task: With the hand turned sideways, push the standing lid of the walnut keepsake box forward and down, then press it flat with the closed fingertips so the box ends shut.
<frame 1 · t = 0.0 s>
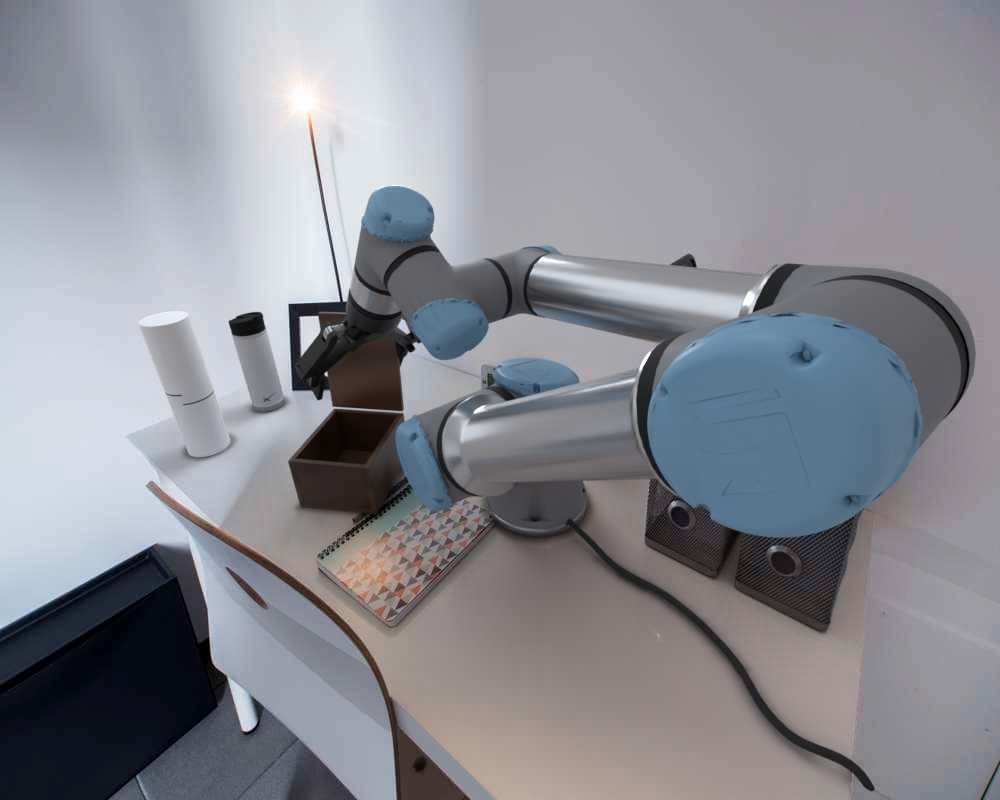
hand: (355, 379, 86), 15 cm above the table, tool tilted 35°, fingers open, 13 cm apart
lid: (362, 362, 87), point 17 cm above the table, hinge at 94.9°, touching gripper
keepsake box: (358, 479, 88), on the table
travel mug: (270, 405, 111), on the table
cylindrical container: (209, 446, 98), on the table
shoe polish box: (578, 452, 93), on the table
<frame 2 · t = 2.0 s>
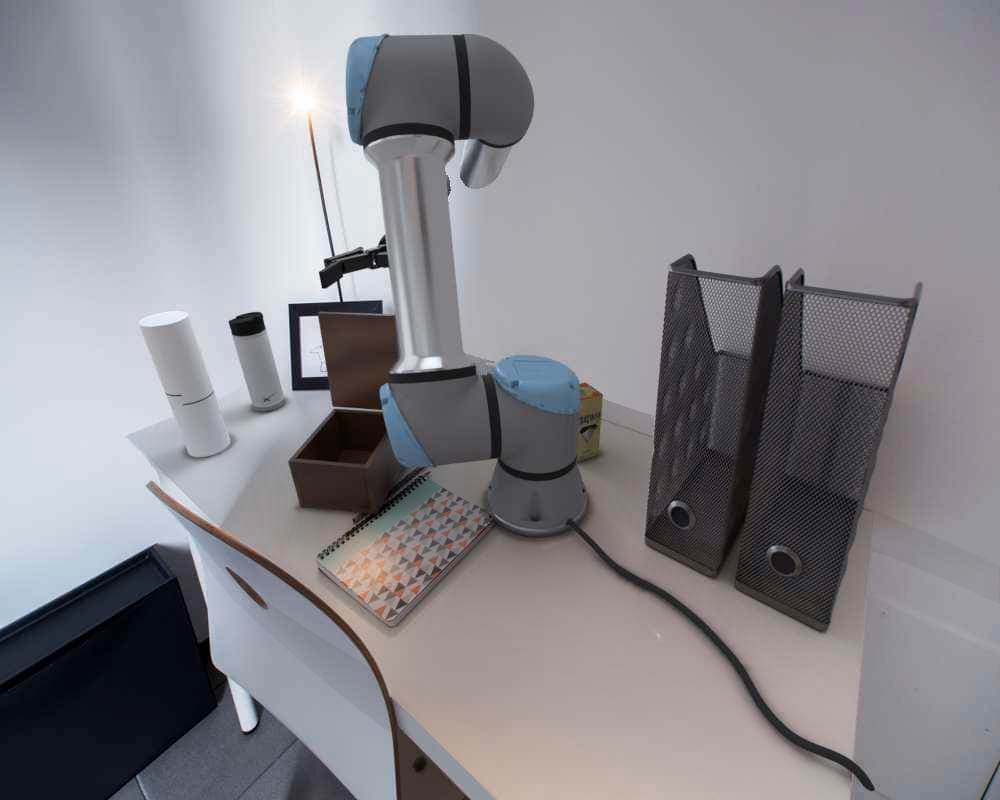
hand: (358, 281, 83), 30 cm above the table, tool horizontal, fingers open, 11 cm apart
lid: (362, 362, 87), point 17 cm above the table, hinge at 94.7°
everything else where it was.
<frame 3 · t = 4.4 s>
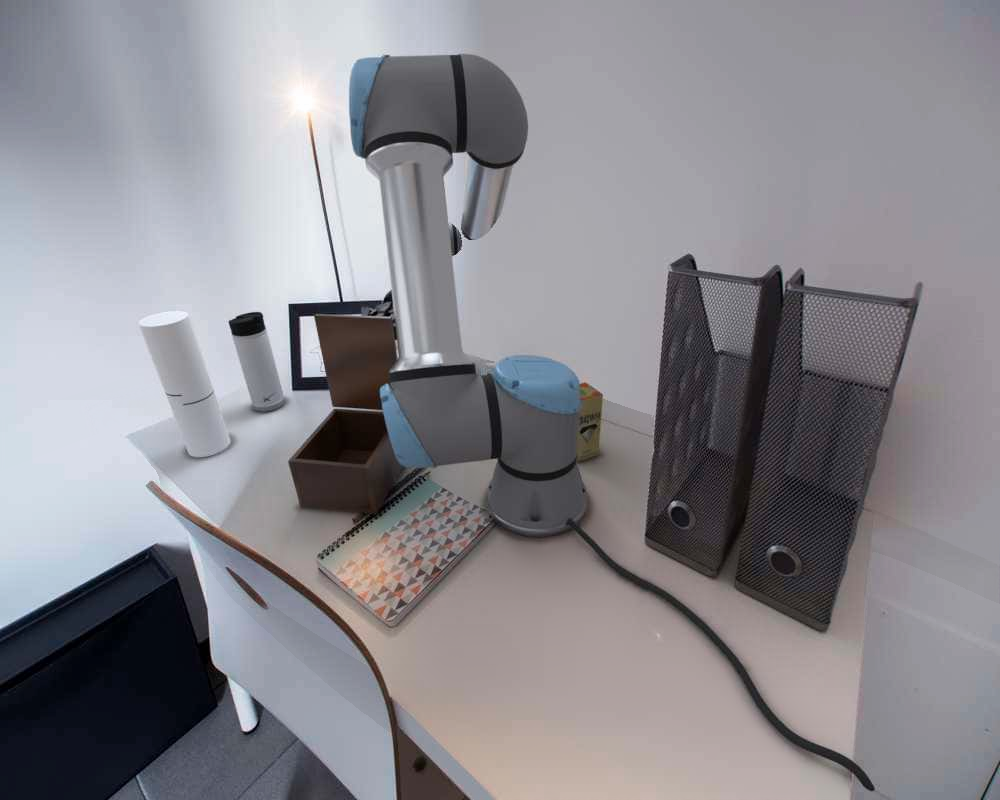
hand: (360, 349, 86), 20 cm above the table, tool horizontal, fingers closed
lid: (360, 364, 86), point 18 cm above the table, hinge at 90.4°, touching gripper
everything else where it was.
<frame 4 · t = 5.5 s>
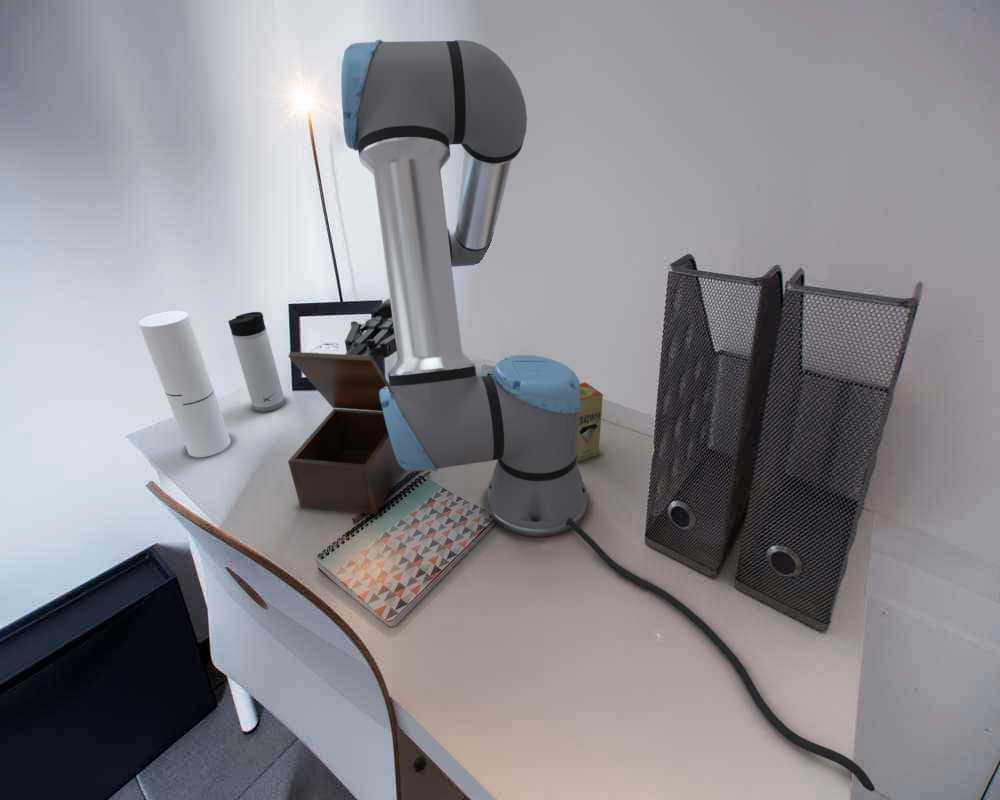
hand: (347, 368, 82), 19 cm above the table, tool horizontal, fingers closed
lid: (350, 384, 83), point 16 cm above the table, hinge at 56.9°
everything else where it was.
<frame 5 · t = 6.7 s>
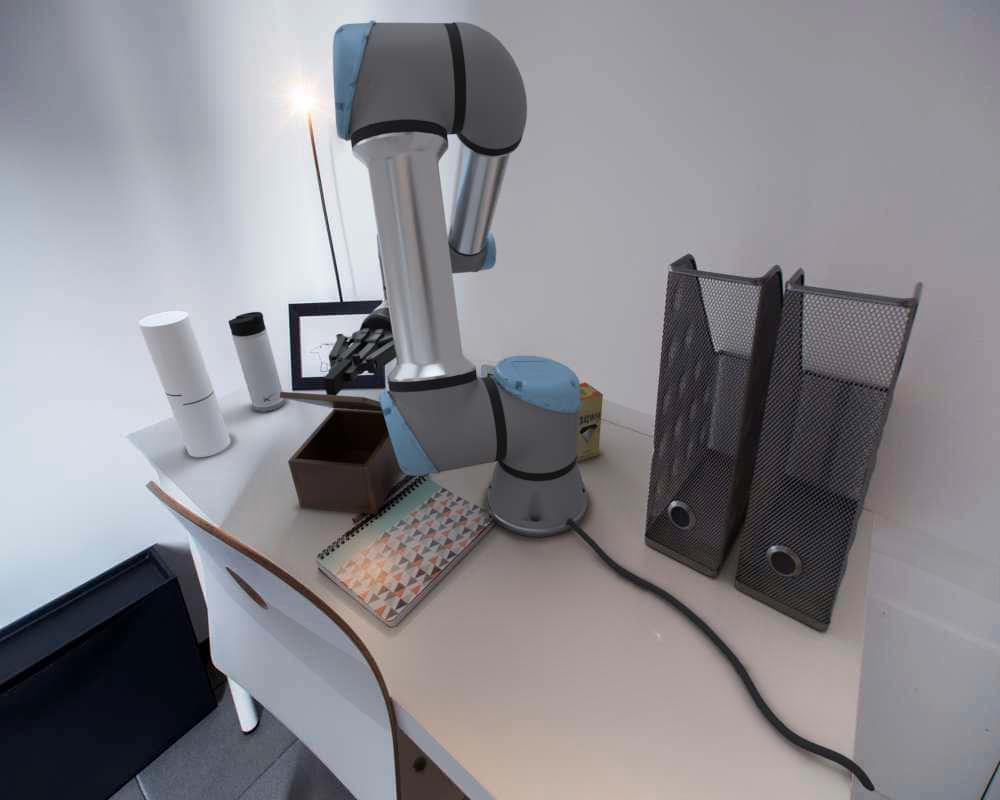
hand: (329, 386, 76), 19 cm above the table, tool horizontal, fingers closed
lid: (346, 403, 82), point 14 cm above the table, hinge at 35.3°
everything else where it was.
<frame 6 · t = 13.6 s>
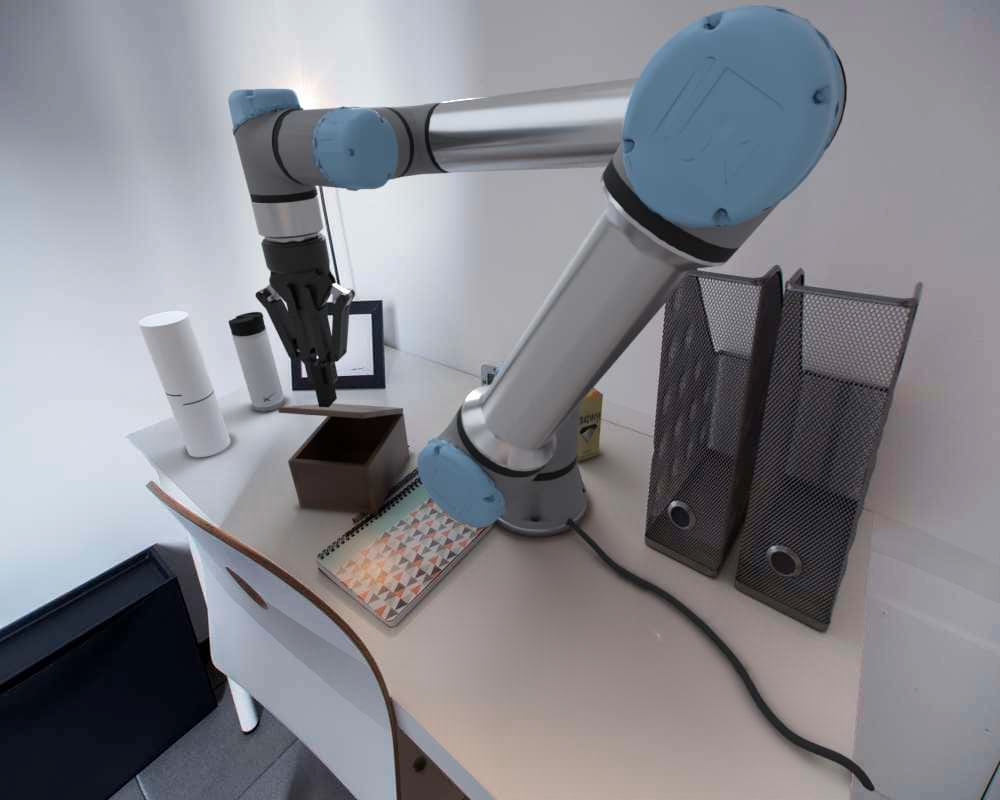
hand: (328, 402, 76), 17 cm above the table, tool pointing down, fingers closed
lid: (346, 410, 82), point 13 cm above the table, hinge at 27.8°
everything else where it was.
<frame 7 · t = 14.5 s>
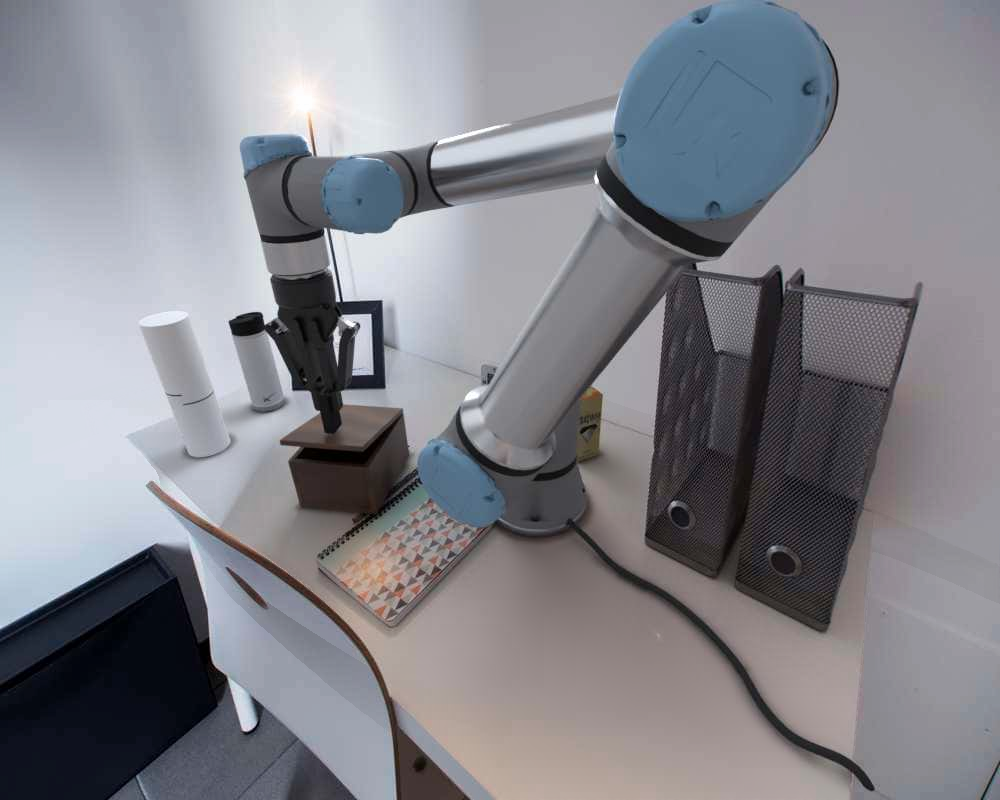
hand: (333, 428, 78), 13 cm above the table, tool pointing down, fingers closed
lid: (346, 425, 82), point 11 cm above the table, hinge at 11.1°, touching gripper
everything else where it was.
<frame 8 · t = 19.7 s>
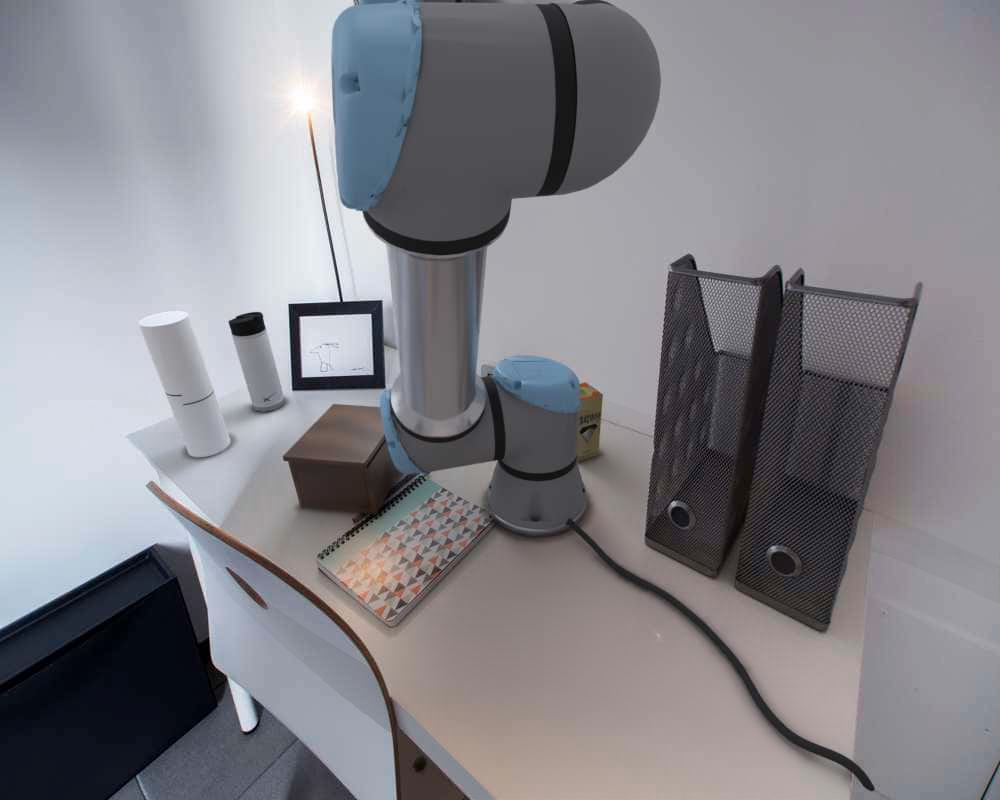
hand: (410, 258, 86), 32 cm above the table, tool pointing down, fingers closed
lid: (347, 432, 83), point 10 cm above the table, hinge at 2.0°
everything else where it was.
at the end: lid at +2° (first picture: +95°); travel mug moved 0.2 cm from its start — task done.
